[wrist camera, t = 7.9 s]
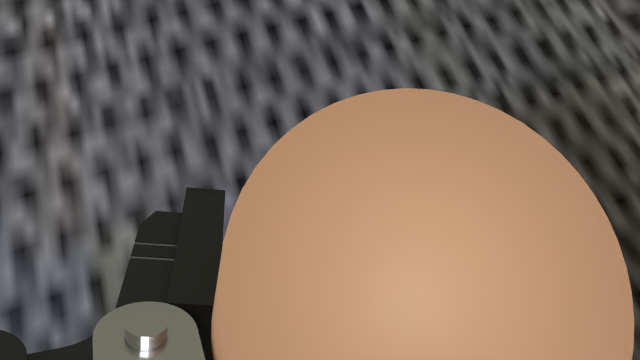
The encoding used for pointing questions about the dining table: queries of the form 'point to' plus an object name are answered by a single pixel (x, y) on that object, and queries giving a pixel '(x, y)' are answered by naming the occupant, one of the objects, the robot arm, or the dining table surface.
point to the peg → (419, 242)
